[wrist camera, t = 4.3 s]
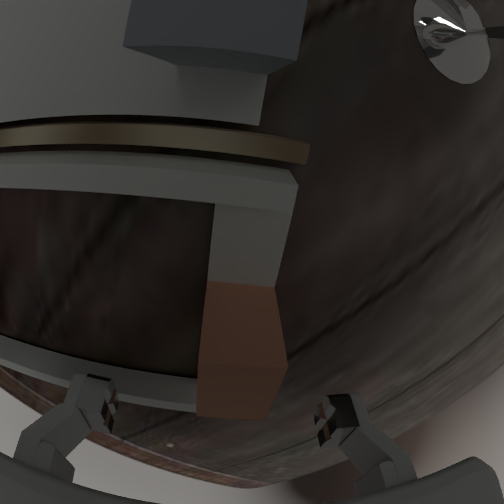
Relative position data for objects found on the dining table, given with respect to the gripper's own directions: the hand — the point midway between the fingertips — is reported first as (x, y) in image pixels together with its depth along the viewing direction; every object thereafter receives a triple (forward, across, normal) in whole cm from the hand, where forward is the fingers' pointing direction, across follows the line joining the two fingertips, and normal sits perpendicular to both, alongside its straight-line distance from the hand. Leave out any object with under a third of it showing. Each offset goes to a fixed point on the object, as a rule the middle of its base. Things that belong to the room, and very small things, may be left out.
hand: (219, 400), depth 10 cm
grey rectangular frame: (+6, +12, 0) cm, 13 cm away
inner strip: (+5, +12, -13) cm, 18 cm away
